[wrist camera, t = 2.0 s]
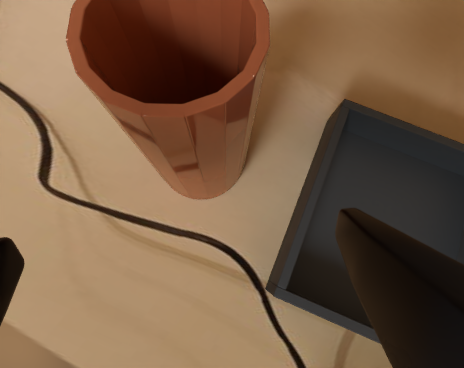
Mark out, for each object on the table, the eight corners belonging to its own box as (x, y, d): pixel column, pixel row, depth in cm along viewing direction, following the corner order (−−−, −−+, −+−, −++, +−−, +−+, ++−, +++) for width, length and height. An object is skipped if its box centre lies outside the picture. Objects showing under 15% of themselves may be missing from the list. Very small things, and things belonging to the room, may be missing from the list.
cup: (223, 213, 21) (221, 149, 8) (145, 179, 21) (26, 69, 8) (256, 138, 22) (297, -15, 9) (182, 108, 23) (127, -75, 10)
